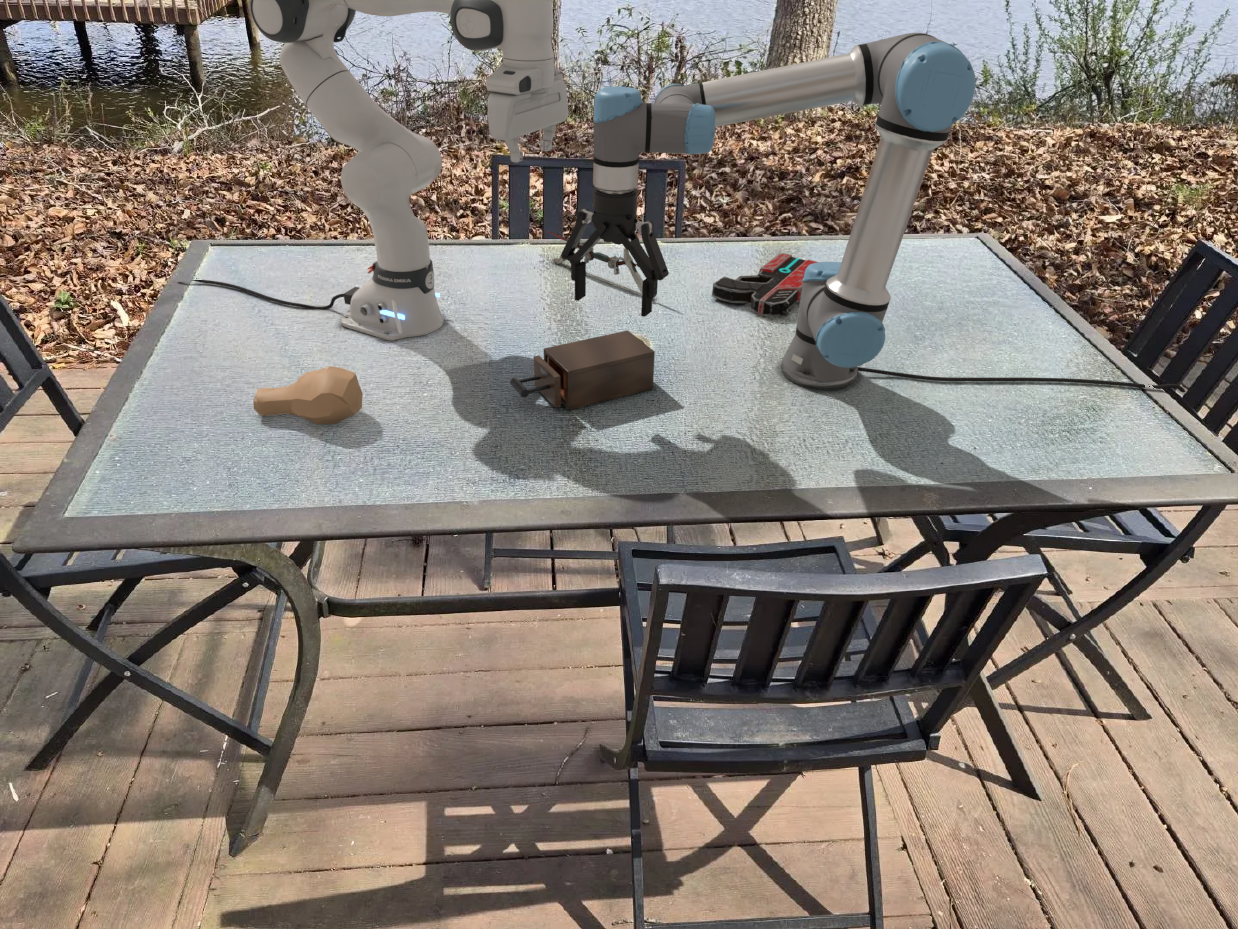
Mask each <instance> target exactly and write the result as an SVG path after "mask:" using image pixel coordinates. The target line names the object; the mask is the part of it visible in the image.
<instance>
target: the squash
mask: <svg viewBox="0 0 1238 929" xmlns="http://www.w3.org/2000/svg"><path fill="white" fill-rule="evenodd" d="M255 392H256V393H255V394H254V398H253V400H252V401H253V410H254V411H255V412H256V413H257V414H259V416H261V417H263V416H264V417H265V416H273V415H292V416H298V417H299V418H302V419H304V420H306V421H308V422H311V423H313V424H315V425H317V426H319V425H337V424H339V423H340V422H342V421H345V420H346V419H349V418H350V417H352V416H354V415H356V414H357V413H358V412H359V411H360V410H361V409H362V408H363V391H362V388H361V386H360V383H359V380H358V377H357V373H356V372H354V371H352V370H348V369H345V368H343V367H337V366H332V365H329V366H326V367H323V368H320V369H317V370H312V371H311V370H310V371H306V372H305V373H303V374H302V375H300V376H298V379H297V380H296V381H295V382H293V383H291V384H289V385H288V386H280V387H273V388H272V387H260V388H257V389H256V391H255Z"/></svg>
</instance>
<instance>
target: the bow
mask: <svg viewBox="0 0 1238 929" xmlns="http://www.w3.org/2000/svg"><path fill="white" fill-rule="evenodd" d="M546 232H547V233H548V234H550V235H551V236H553V237H554V238H555V237H556V238H558V239H559V240H562V241H565V242H567V241H568V239H569V238H566V237H564V236H563V235H560V234H557V233H555V232H552V231H549V230H546ZM581 241H582V238H581V239H580V241H579V243H578V245H577V247H576V249H575V250H577V249H578V250H579V249H580V248H581V246H582V245H583V244H584V243H582V242H581ZM594 259H595V260H598V261H601V262H603V263H606V264H607V266H608V268H610V269H612V270H613V275H614V276H617V275H620V269H619V267H620V266H626V267H627V269H628V270H629V272H630V274H631V276H632V279H633V281H634V283H635V284H636V286H637V288H638V290H639V291H640V292H638V291H636V290H633V289H631V288H628V287H624V286H622V285H621V284H618V283H615V282H612V281H609V280H607V279H604V278H601V277H599V276H596V275H594V274H591V273H588V272H586V275H589V276H592V277H595V278H597V279H600V280H602V281H604V282H607V283H610V284H613V285H616V286H618V287H621V288H623V289H626V290H628V291H631V292H634V293H636V294H638V295H642V286H643V281H644V280H643V278H642V276H641V275H640V273H639V272H638V270H637V267H638V268H639V266H638V265H637V263H636V262H634V258H633V257H632V255H631V254H630V252H629V251H628V250H627V249H625V248H623V256H619V257H618V256H617V255H614V256H609V255H607V254H604V253H602V252H597V251H596V252H595V251H594V247H593V248H592V249H591V250H590V251H589V252H588V253H587V254H586V255H585V256H584V258H583V262H586V264H589V263H590V262H591V261H593V260H594ZM566 261H567V260H566V259H562V258H561V255H560V256H559V257H558V258H557V257H555V258H553V259H552V262H553V263H555V264H558V265H559V264H560V265H562V266H565V267H568V268H570V269H571V265H568V264H564V262H566Z"/></svg>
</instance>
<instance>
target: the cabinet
mask: <svg viewBox="0 0 1238 929" xmlns="http://www.w3.org/2000/svg"><path fill="white" fill-rule="evenodd" d="M655 354H656V351H654V350H653V348H651V347H650V346H648V345H647V344H646V343H645V342H643V341H642V340H641V339H639V338H638V337H637V336H636V335H634V334H633V332H631V331H629V330H623V331H619V332H614V333H609V334H605V335H599V336H595V337H591V338H585V339H581V340H577V341H572V342H567V343H562V344H558V345H553V346H549V347H544V348H543V360H544V361H545V362H546V363H547V356H548V357H549V358H550V359H551V360H552V361H553V362H554V363H555V364H556V365H557V366H559V367H560V368H561V369H562V370H563V371H564V372H565V373H566V401H565V400H564V399H563V398H562V397H561V405H562V406H563V407H564V408H565V409H566V410H567V411H571V410H574V409H578V408H583V407H587V406H591V405H595V404H600V403H603V402H607V401H611V400H615V399H619V398H623V397H626V396H632V395H634V394H638V393H643V392H647V391H651V390H653V389H654V374H655V371H654V370H655Z"/></svg>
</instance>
